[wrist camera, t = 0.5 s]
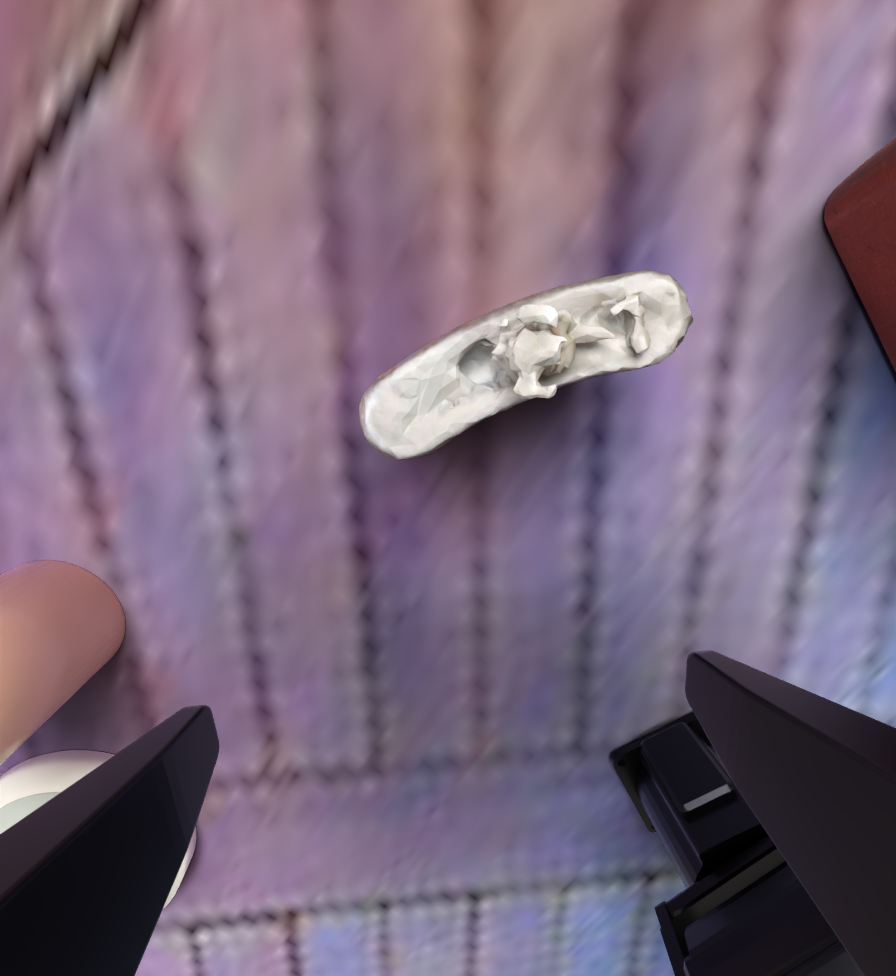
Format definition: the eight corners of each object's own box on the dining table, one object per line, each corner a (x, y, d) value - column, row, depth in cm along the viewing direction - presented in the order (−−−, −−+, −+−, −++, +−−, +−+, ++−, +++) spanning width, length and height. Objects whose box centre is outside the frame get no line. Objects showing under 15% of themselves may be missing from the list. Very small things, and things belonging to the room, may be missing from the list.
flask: (392, 431, 20) (374, 494, 10) (365, 369, 20) (316, 368, 9) (583, 354, 20) (762, 337, 10) (563, 288, 20) (736, 195, 9)
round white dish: (236, 853, 26) (225, 885, 24) (75, 934, 26) (53, 970, 25) (108, 716, 23) (85, 741, 21) (-70, 810, 24) (-105, 842, 22)
